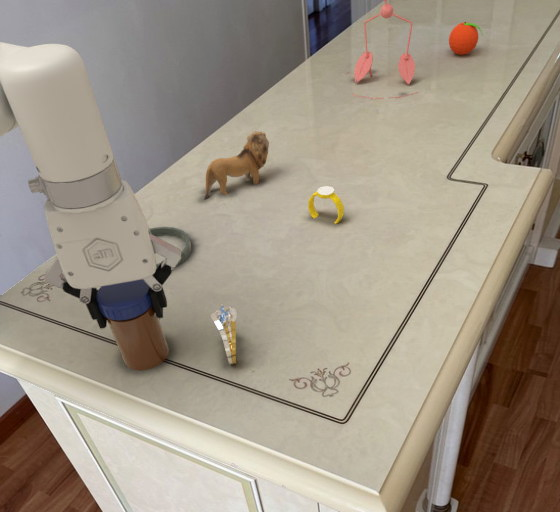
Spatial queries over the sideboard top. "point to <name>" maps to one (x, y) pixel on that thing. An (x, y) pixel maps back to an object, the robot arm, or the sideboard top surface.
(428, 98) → the sideboard top surface
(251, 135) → the lion figurine
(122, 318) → the lid
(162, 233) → the grey-green bangle
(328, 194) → the watch
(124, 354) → the jar
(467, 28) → the clementine
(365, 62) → the balance scale
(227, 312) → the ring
